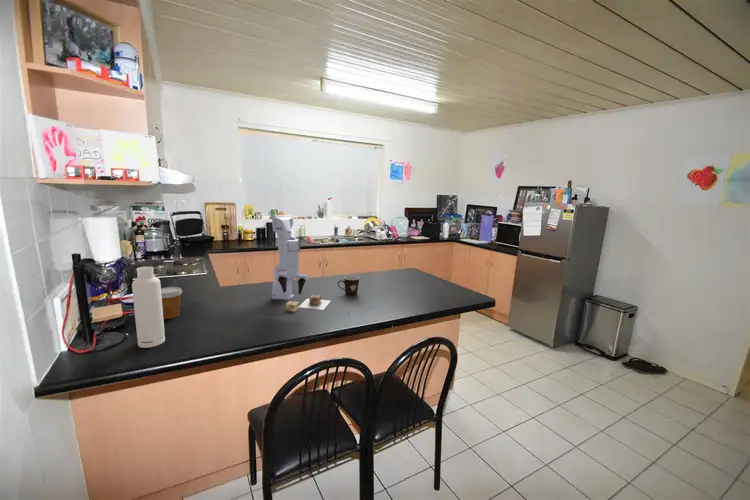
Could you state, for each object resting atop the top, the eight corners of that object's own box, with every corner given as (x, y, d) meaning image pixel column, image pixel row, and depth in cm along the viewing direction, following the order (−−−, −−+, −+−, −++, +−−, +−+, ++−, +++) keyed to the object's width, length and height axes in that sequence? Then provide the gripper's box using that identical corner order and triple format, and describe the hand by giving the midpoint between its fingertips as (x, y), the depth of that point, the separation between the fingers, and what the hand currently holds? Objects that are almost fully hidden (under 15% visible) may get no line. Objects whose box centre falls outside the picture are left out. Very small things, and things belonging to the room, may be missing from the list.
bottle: (133, 343, 112) (126, 268, 107) (158, 335, 119) (152, 264, 114) (144, 349, 108) (136, 272, 103) (169, 341, 115) (163, 268, 110)
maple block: (285, 312, 147) (285, 304, 146) (289, 308, 151) (289, 301, 151) (295, 313, 147) (295, 305, 146) (298, 309, 151) (298, 301, 150)
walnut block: (309, 304, 156) (309, 297, 155) (312, 301, 160) (312, 294, 159) (318, 305, 155) (318, 298, 154) (320, 302, 160) (320, 295, 159)
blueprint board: (298, 308, 152) (298, 306, 152) (307, 299, 165) (307, 298, 165) (323, 310, 151) (323, 309, 150) (330, 301, 163) (331, 300, 163)
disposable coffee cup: (188, 314, 139) (187, 288, 137) (168, 322, 130) (166, 294, 128) (173, 310, 142) (171, 285, 140) (152, 318, 133) (150, 291, 131)
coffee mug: (359, 293, 179) (360, 276, 177) (357, 298, 171) (358, 280, 169) (340, 291, 180) (340, 274, 178) (336, 296, 172) (337, 279, 170)
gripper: (273, 265, 142) (274, 294, 144) (304, 268, 140) (304, 296, 142) (280, 262, 149) (280, 289, 151) (309, 264, 147) (309, 292, 149)
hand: (292, 292), depth 147 cm, fingers open, 7 cm apart
